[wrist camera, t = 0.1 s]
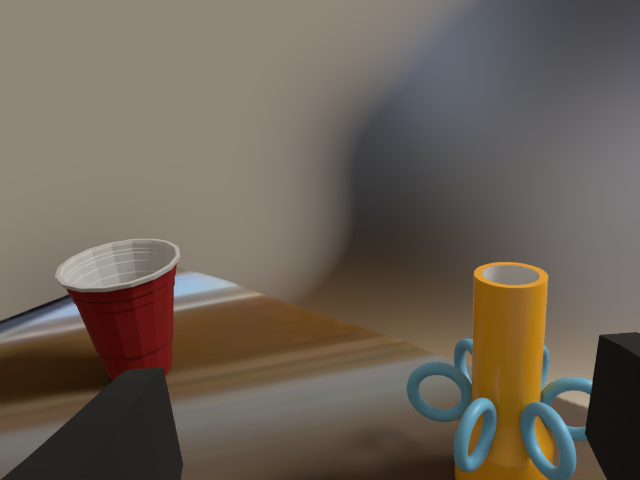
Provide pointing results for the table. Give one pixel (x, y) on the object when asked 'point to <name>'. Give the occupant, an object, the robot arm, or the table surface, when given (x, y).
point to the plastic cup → (126, 301)
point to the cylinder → (506, 384)
